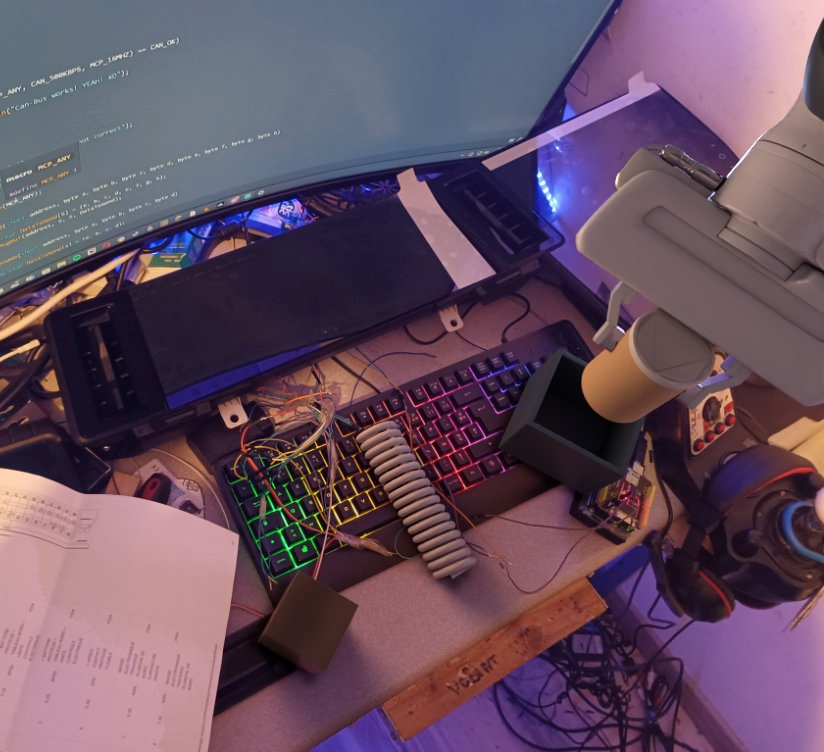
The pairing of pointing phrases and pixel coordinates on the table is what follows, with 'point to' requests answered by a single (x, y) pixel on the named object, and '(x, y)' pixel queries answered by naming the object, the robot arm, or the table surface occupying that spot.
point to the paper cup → (647, 367)
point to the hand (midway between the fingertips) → (641, 374)
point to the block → (308, 624)
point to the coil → (416, 501)
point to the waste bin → (568, 429)
